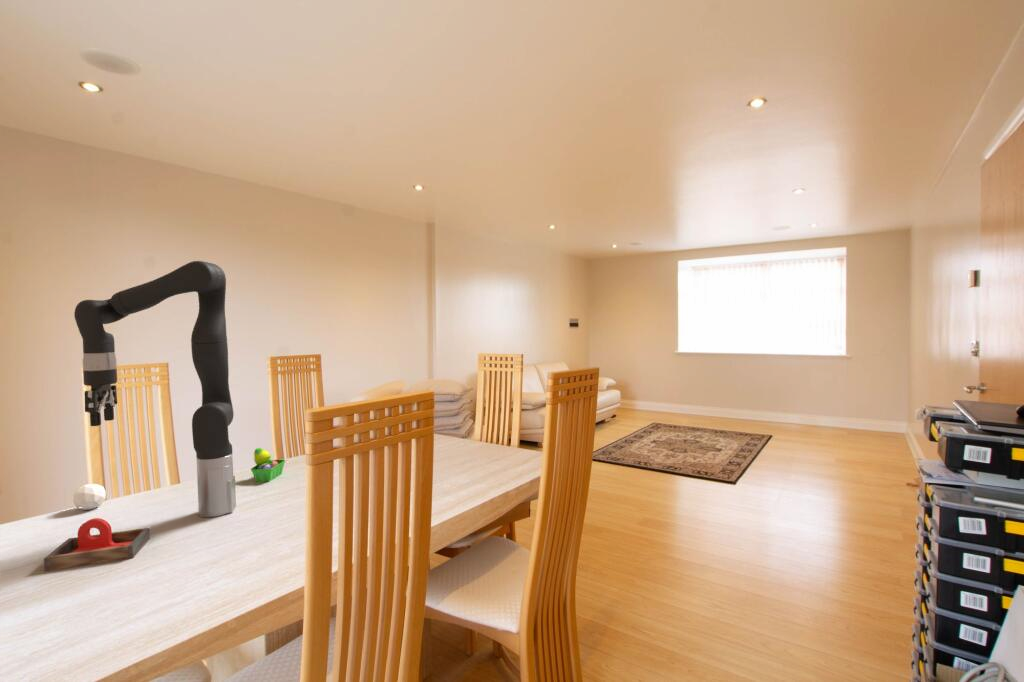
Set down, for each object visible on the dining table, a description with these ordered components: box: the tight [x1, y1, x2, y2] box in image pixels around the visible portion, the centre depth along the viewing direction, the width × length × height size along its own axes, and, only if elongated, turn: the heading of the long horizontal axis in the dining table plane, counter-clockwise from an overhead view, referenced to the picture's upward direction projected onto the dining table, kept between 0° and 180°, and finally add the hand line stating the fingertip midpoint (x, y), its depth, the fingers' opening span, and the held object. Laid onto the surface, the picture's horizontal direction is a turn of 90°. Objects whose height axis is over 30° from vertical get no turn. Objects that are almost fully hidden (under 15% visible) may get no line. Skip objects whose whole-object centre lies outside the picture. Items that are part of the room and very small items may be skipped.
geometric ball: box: [72, 483, 107, 511], centre depth 149 cm, size 8×8×8 cm
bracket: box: [72, 517, 132, 553], centre depth 118 cm, size 12×4×8 cm, turn 100°
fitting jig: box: [43, 527, 151, 572], centre depth 119 cm, size 17×11×3 cm, turn 110°
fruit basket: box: [250, 447, 286, 483], centre depth 176 cm, size 11×9×11 cm
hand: (102, 423), depth 141 cm, fingers open, 8 cm apart
